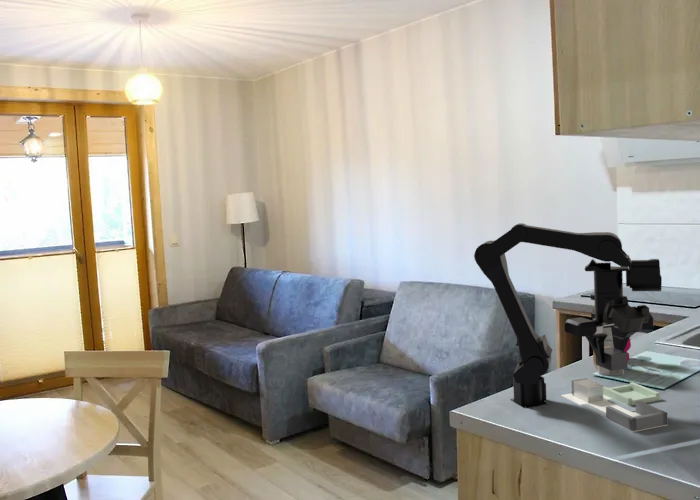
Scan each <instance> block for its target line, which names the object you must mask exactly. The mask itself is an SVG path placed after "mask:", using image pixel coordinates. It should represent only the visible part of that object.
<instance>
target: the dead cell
mask: <svg viewBox="0 0 700 500" xmlns="http://www.w3.org/2000/svg"><path fill="white" fill-rule="evenodd" d="M603 387H604V385H603V384H600V383H598V382H595V381H594V380H591V379H589V378H587V377H585V378H579V379H574V380H571V393H572V395H573V396H575V397H577V398H579V399H581V400H583V401H585V402H587V403H592V402H597V401H603Z"/></svg>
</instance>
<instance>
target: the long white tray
mask: <svg viewBox="0 0 700 500" xmlns="http://www.w3.org/2000/svg"><path fill="white" fill-rule="evenodd" d="M560 396H561V397H563V398H564V399H567V400H569V401H571V402H573V403H575V404H576V405H579V406H581V407H583V408H584V409H587V410H588V411H591V412H592V413H594V414H596V415H598V416H601V417H603V418H604V419H606V420H608V421H610V422H612V423H614V424H616V425H618V426H619V427H622V428H623V429H626V430H628V431H630V432H632V433H635V432H640V431H645V430H650V429H655V428H660V427H661V428H662V427H666V426H668V412H667V411H664V410H662V409H659V408H657V407H656V406H653V405H651V404H648V403H644V402H642V401H636V405H635V407H632V406H628V405H626V404H624V403H621V402H619V401H617V400H615V399H611V398H609V397H607V396H605V395H603V401H597V402H592V403H587V402H585V401H583V400H581V399H579V398H577V397H575V396H573V395H572V392H571V393H567V394H566V393H565V394H561V395H560Z"/></svg>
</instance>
